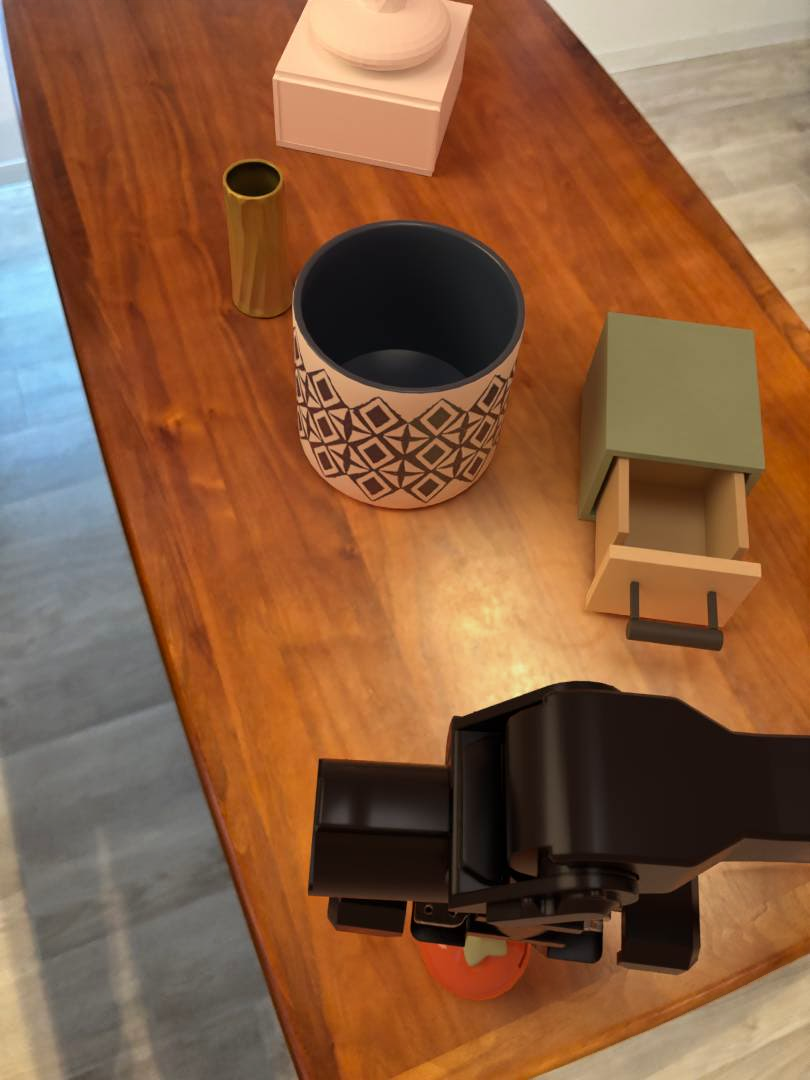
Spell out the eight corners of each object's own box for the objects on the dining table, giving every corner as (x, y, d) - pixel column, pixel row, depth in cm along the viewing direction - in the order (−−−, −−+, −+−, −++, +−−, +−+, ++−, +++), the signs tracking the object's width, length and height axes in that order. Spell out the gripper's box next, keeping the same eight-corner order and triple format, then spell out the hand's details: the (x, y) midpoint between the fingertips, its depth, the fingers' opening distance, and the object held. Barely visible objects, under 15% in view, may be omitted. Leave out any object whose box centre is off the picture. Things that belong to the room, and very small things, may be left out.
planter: (294, 354, 95) (288, 219, 81) (483, 349, 97) (509, 216, 83) (302, 517, 86) (295, 398, 72) (510, 508, 88) (544, 389, 74)
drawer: (725, 682, 80) (766, 635, 72) (583, 663, 80) (609, 615, 72) (715, 491, 89) (750, 432, 82) (588, 475, 89) (611, 414, 82)
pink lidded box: (276, 146, 110) (267, 6, 96) (319, 49, 119) (317, -91, 106) (432, 177, 109) (446, 40, 95) (464, 77, 118) (480, -61, 104)
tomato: (524, 1008, 68) (546, 994, 61) (414, 1006, 68) (423, 992, 61) (519, 893, 72) (538, 868, 65) (415, 891, 71) (423, 865, 64)
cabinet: (721, 537, 88) (765, 469, 79) (578, 519, 88) (606, 448, 79) (713, 406, 95) (754, 329, 86) (582, 389, 95) (607, 311, 86)
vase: (224, 282, 100) (208, 163, 87) (282, 267, 101) (275, 147, 89) (244, 326, 97) (230, 209, 85) (303, 309, 98) (299, 192, 86)
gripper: (731, 713, 50) (647, 801, 63) (358, 665, 50) (353, 763, 63) (745, 952, 44) (649, 993, 58) (324, 897, 44) (326, 951, 58)
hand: (491, 916), depth 59 cm, fingers open, 3 cm apart
